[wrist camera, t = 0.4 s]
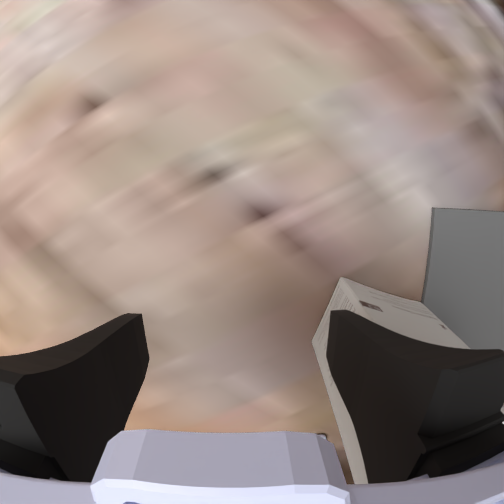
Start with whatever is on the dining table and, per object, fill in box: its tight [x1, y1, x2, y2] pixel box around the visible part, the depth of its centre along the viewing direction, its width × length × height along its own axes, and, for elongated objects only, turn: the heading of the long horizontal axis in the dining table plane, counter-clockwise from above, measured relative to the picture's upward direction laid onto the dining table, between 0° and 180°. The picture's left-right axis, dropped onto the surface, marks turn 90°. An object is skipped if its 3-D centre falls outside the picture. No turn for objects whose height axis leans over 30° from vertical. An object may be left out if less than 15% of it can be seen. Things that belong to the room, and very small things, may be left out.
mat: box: [421, 208, 504, 351], centre depth 23 cm, size 18×16×1 cm
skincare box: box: [312, 277, 504, 484], centre depth 16 cm, size 8×6×15 cm
